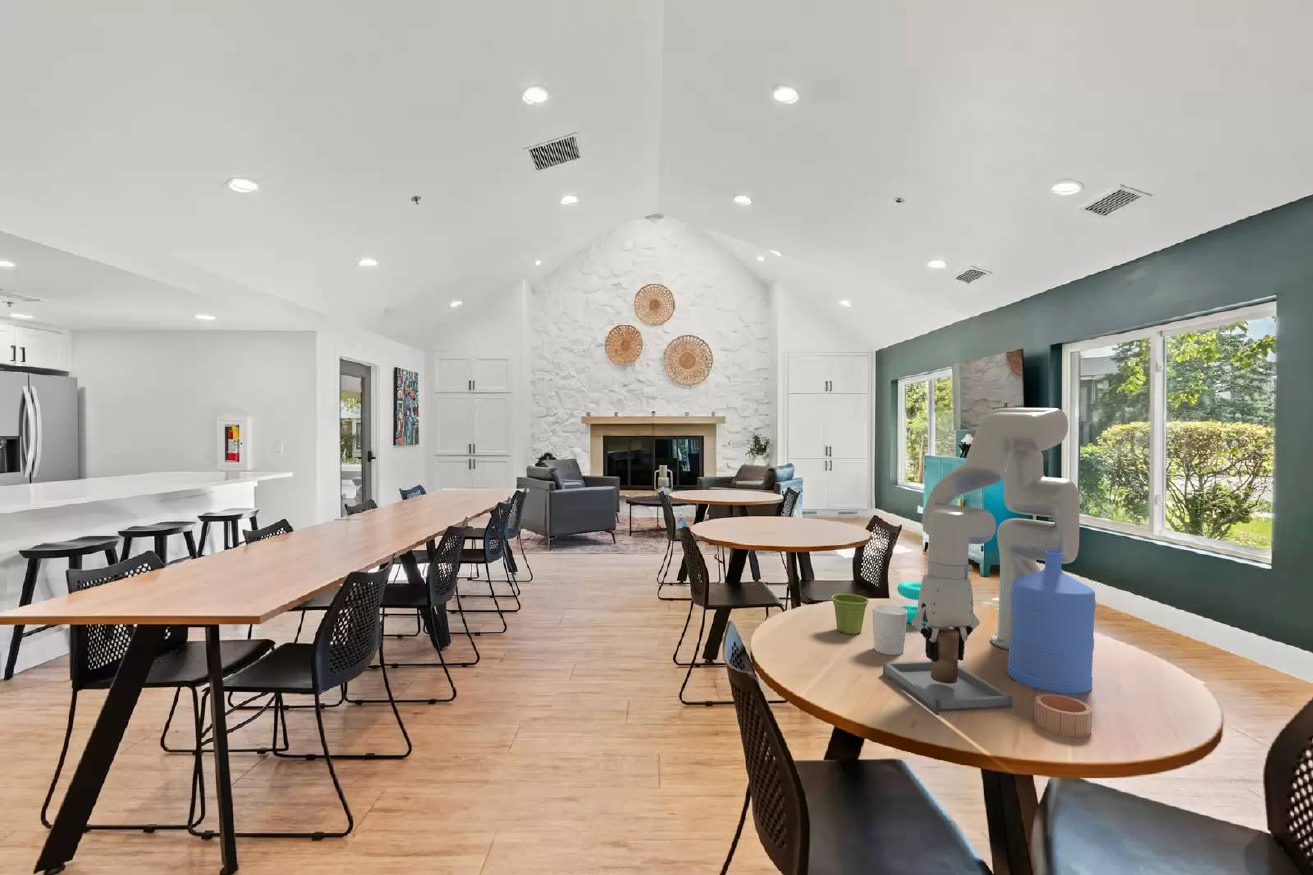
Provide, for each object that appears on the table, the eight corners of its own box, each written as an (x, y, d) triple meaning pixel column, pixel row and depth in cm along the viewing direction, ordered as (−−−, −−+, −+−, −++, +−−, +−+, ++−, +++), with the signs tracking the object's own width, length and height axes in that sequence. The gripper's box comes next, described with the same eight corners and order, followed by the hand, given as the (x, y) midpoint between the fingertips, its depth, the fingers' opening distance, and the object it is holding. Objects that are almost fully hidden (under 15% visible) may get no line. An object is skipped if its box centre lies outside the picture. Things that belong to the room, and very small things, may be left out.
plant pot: (828, 624, 180) (829, 592, 180) (864, 626, 179) (865, 594, 179) (832, 635, 171) (833, 602, 171) (870, 638, 170) (871, 604, 170)
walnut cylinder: (947, 673, 140) (949, 626, 140) (962, 683, 135) (964, 634, 135) (925, 674, 139) (927, 627, 139) (939, 684, 134) (941, 634, 134)
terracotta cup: (1064, 716, 126) (1065, 693, 126) (1102, 738, 118) (1103, 713, 118) (1024, 719, 125) (1024, 695, 125) (1058, 741, 116) (1059, 715, 116)
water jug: (1110, 695, 137) (1116, 559, 136) (1042, 698, 134) (1048, 560, 134) (1053, 666, 152) (1058, 544, 151) (991, 669, 150) (996, 545, 149)
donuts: (902, 578, 192) (939, 584, 187) (900, 613, 193) (937, 619, 187) (893, 585, 184) (931, 591, 179) (892, 621, 184) (930, 628, 179)
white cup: (901, 646, 164) (902, 605, 164) (910, 657, 157) (911, 615, 156) (868, 644, 165) (869, 604, 165) (875, 655, 157) (876, 613, 157)
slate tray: (949, 671, 148) (950, 659, 148) (1011, 710, 129) (1012, 697, 128) (882, 674, 146) (883, 662, 146) (935, 714, 126) (936, 701, 126)
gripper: (973, 566, 141) (970, 651, 142) (899, 567, 139) (896, 653, 139) (997, 574, 134) (994, 663, 135) (919, 575, 131) (916, 667, 132)
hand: (944, 657), depth 137 cm, fingers closed on walnut cylinder, 5 cm apart
